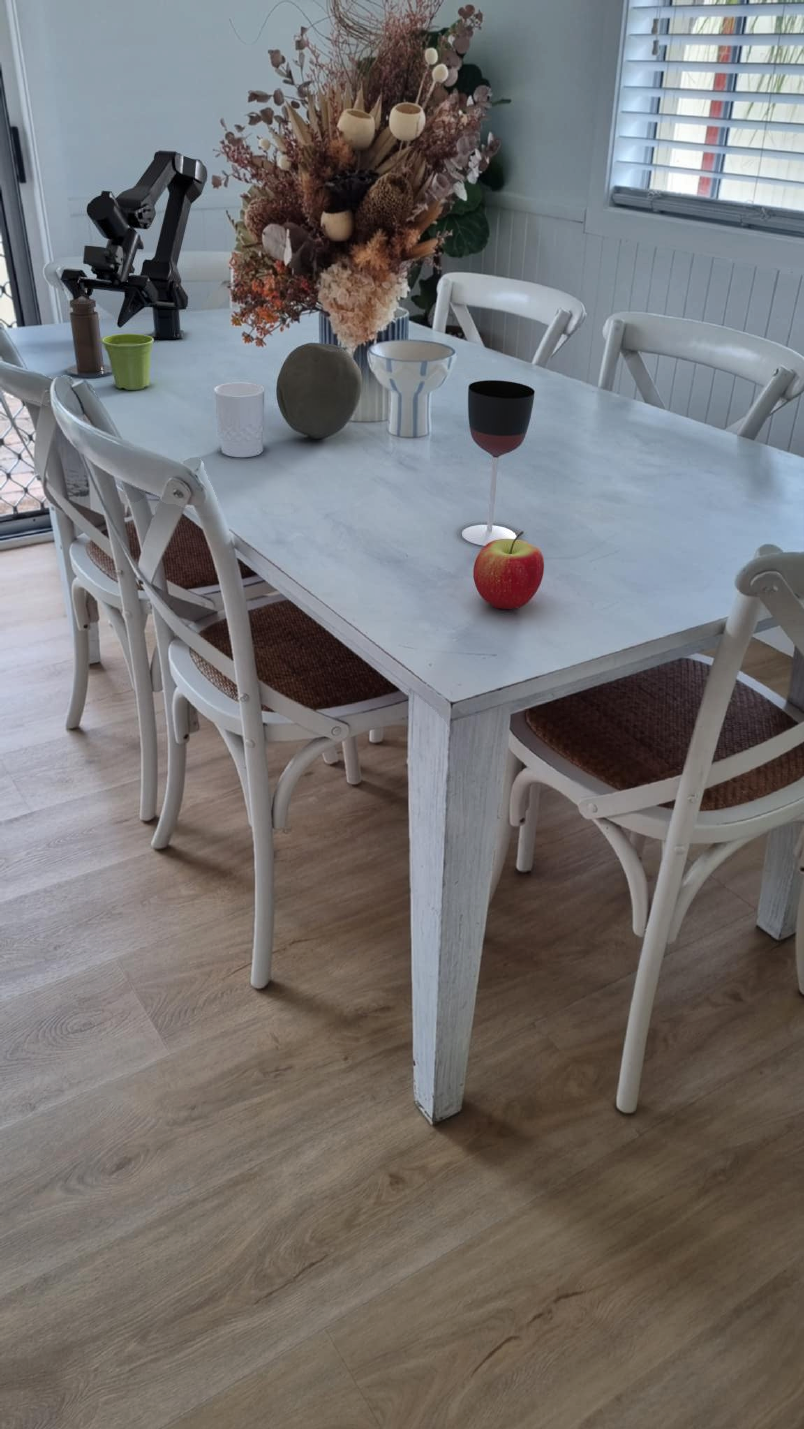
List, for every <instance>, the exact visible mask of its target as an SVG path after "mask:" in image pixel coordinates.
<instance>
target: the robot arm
mask: <svg viewBox="0 0 804 1429" xmlns="http://www.w3.org/2000/svg"><path fill="white" fill-rule="evenodd" d="M207 180H208V168H207V166H205V164H204V163H203V162H202V161H201V159H198V158H191V157H188V156H186V155H183V154H182V153H180V152H177V151H175V150H160V149H159V150H158V151H155V152H154V154H153V159H152V161H151V162H150V164H149V165H148V167H147V168H146V170H144V172H143V174H142V175H141V177H140V178H139V179H138V181H137V182H136V184H135V185H134V186H133V187H131V188H128V189H125V190H122V192H120V193H119V194H118V195H117V196H116V197H115V195H114V193H113V191H111V190H101V193H100V195H98V196H95V197H94V198H92V200H90V202H89V203H87V206H86V214H87V216H88V218H89V219H90V221H91V222H92V224H93V225H94V227H95V228H96V229H97V231H98V232H99V234H100V235H101V236H102V237H103V238H104V239H107V242H106V246H105V247H104V246H97V245H84V249H83V258H82V264H84V265H88V266H90V267H91V268H90V271H91V273H92V274H93V275H96V277H89V276H87V274H86V272H85V271H84V270H83V269H78V268H68V267H67V268H64V269H63V270H62V272H61V276H60V279H59V280H60V281H61V283H62V284H63V285H64V286H65V287H66V289H67V290H68V291H69V293H70V294H71V295H72V300H73V299H78V298H79V297H85V298H86V299H91V296H92V295H93V293H94V290H99V291H108V292H115V293H124V298H123V301H122V305H121V307H120V311H119V314H118V318H117V322H116V326H117V327H118V328H121V329H122V327H124V326H125V325H126V324H127V323H128V322H129V321H130V320H132V318H133V317H134V316H135V315H137V314H138V313H140V312H141V311H142V310H143V309H145V308H151V309H152V318H153V332H152V335H151V337H152V338H153V339H154V340H182V339H183V336H184V330H183V329H181V318H180V317H181V316H180V311H181V310H187V308H188V305H189V304H188V303H189V296H188V294H187V292H186V291H185V289H184V287H183V286H182V285H181V284H182V277H181V275H180V272H179V269H178V263H179V259H180V253H181V250H182V246H183V240H184V238H185V233H186V228H187V225H188V220H189V215H190V211H191V208H192V204H193V203H194V202H195V201H196V200H197V199H199V197H200V196H202V194H203V191H204V188H205V185H206V184H207ZM166 189H167V191H168V198H167V202H166V205H165V206H166V207H165V211H164V213H163V219H162V223H161V228H160V232H159V236H158V240H157V244H156V248H155V253H154V256H153V257H152V258H151V259H144V260H143V261H142V265H141V271H140V274H135V271H136V268H135V266H133V264H134V261H135V258H136V255H137V252H138V250H139V251H141V250H142V251H143V250H144V248H145V247H144V243H143V241H142V239H141V234H139V233H138V231H137V230H149V229H150V227H151V226H152V224H153V222H154V220H155V217H156V215H157V212H156V207H155V206H156V204H157V202H158V201H159V199H160V198H161V196H162V194H163V193H164V192H165V190H166ZM136 229H137V230H136Z"/></svg>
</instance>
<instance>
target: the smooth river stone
mask: <svg viewBox="0 0 804 1429" xmlns="http://www.w3.org/2000/svg"><path fill="white" fill-rule="evenodd" d="M278 373H279V374H278V376H277V380H276V388H275V390H276V392H275V393H276V395H275V396H276V401H277V406H278V408H279V411H280V413H281V415H282V417H283V419H284V420H285V423H287V424H288V426H289V427H290V428H291V429H292V430H293V431H295V432H296V433H300V434H302V435H304V436H306V437H308V438H311V439H314V440H322V439H326V438H329V437H331V436H333V435H335V434H337V433H338V432H340V431H341V430H342V429H343V428H344V427H346V425H347V424H349V421H351V419H352V417H353V416H354V413H355V411H356V409H357V407H358V405H359V402H360V399H361V395H362V391H363V375H362V372H361V369H360V367H359V365H358V363H357V362H356V360H355V359H354V357H353V356H352V355H351V353H349V352H348V351H347V350H346V349H344V348H343V347H340V346H339V345H335V344H333V343H322V342H307V343H304V344H301V345H299V346H297V347H295V349H292V351H291V352H290V353H289V354H288V355H287V357H286V358H285V360H284V362H283V364H282V366H281V368H280V371H279V372H278Z"/></svg>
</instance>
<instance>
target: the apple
mask: <svg viewBox="0 0 804 1429" xmlns="http://www.w3.org/2000/svg"><path fill="white" fill-rule="evenodd" d="M523 534H524V531H523V530H522V531H520V532H519V533H518V535H516V538H515V539H498V540H494V541H491V542H489V543H488V544H486V545H485V546H483V547H482V548H481V550H480V551H479V552H478V554H477V556H476V558H475V560H474V564H473V568H472V575H473V582H474V585H475V588H476V590H477V592H478V594H479V595H480V597H481V599H483V601H485V602H486V603H487V604H489V605H490V606H493V607H494V608H497V609H500V610H501V609H502V610H514V609H519V608H521V607H524V606H525V605H526V604H528V603H529V602H530V601H531V599H532V598H533V597H535V595H536V593H537V592H538V590H539V588H540V586H541V583H542V581H543V578H544V574H545V559H544V555H543V553H542V551H541V549H540V548H538V547H536V546H535V545H533V544H531V543H529V542H527V541H524V540H521V539H519V538H520V537H521V536H522V535H523Z"/></svg>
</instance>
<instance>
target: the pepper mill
mask: <svg viewBox="0 0 804 1429" xmlns="http://www.w3.org/2000/svg"><path fill="white" fill-rule="evenodd" d="M68 304H69V308H71V310H72V311H71V312H69V318H70V319H69V320H70V327H71V334H72V343H73V350H74V358H75V365H76V366H77V370H78V371H81V372H98V371H102V370H103V369H104V362H105V361H104V355H103V347H102V346H103V344H102V338H101V329H100V328H101V327H100V320H99V312H98V311H95V308H96V307H97V303H96V300H95V299H92V298H90V299H86V298H85V297H79V298H78V299H73V298H72V299H70V300H69V302H68Z"/></svg>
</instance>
